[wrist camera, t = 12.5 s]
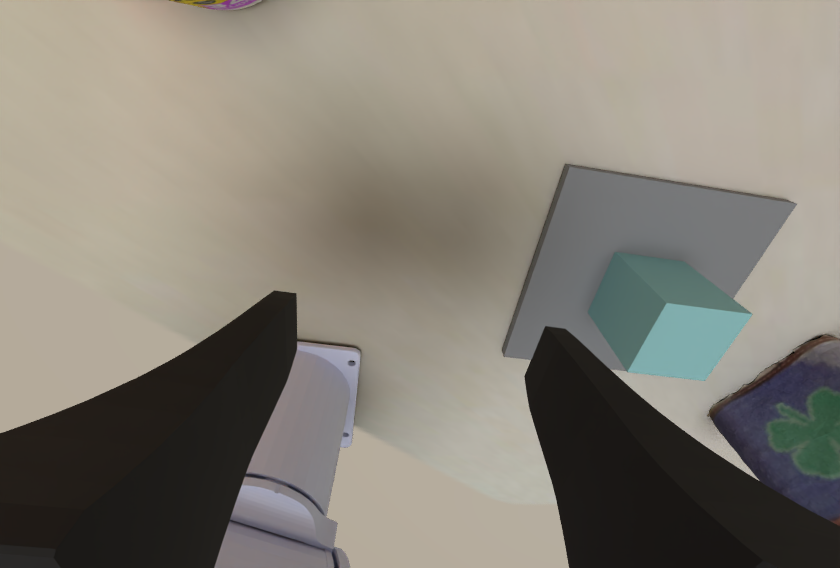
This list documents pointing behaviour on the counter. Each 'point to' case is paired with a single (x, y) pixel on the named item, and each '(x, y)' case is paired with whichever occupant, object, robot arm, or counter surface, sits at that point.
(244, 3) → the supplement bottle
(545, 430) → the robot arm
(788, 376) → the flask
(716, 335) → the teal block
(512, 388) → the counter surface
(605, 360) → the mat
